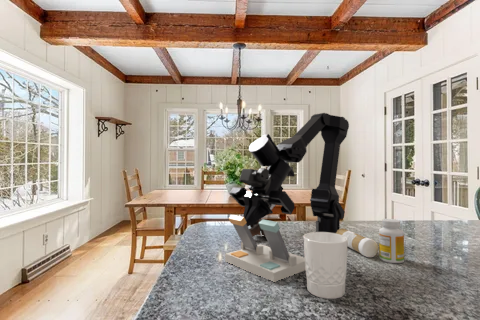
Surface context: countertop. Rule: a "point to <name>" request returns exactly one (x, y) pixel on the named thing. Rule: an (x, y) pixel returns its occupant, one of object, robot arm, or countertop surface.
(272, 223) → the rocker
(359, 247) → the sprinkles bottle
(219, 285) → the countertop surface
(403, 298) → the countertop surface
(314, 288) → the white cup
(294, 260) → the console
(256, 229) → the pottery mug
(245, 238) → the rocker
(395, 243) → the supplement bottle
